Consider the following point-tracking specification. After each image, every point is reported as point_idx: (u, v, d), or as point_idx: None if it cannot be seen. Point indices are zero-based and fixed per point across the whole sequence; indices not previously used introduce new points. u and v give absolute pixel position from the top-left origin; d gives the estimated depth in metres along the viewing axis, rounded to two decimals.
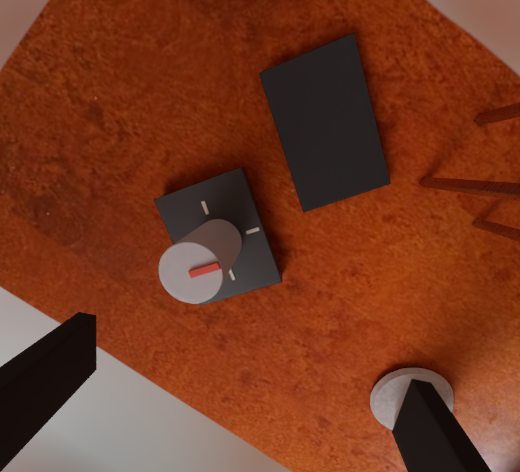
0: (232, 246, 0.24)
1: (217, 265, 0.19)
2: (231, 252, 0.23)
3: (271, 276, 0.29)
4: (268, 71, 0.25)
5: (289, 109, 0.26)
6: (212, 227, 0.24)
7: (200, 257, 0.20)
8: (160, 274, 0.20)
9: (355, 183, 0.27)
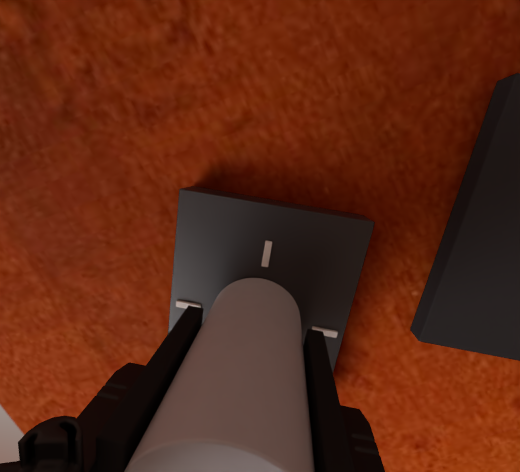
0: None
1: None
2: None
3: None
4: None
5: None
6: (283, 330, 0.11)
7: None
8: None
9: None
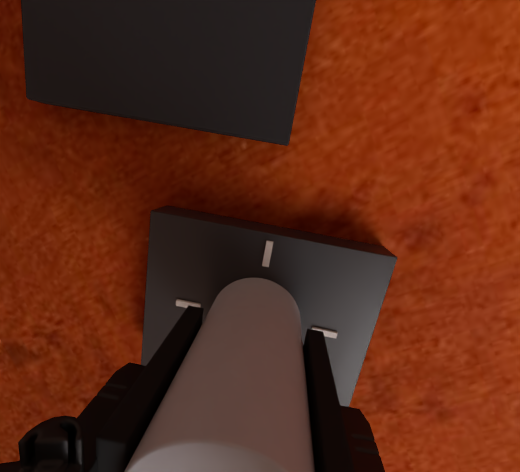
0: None
1: None
2: None
3: (372, 269, 0.14)
4: (28, 80, 0.14)
5: (99, 73, 0.13)
6: (283, 330, 0.11)
7: None
8: None
9: (288, 5, 0.12)
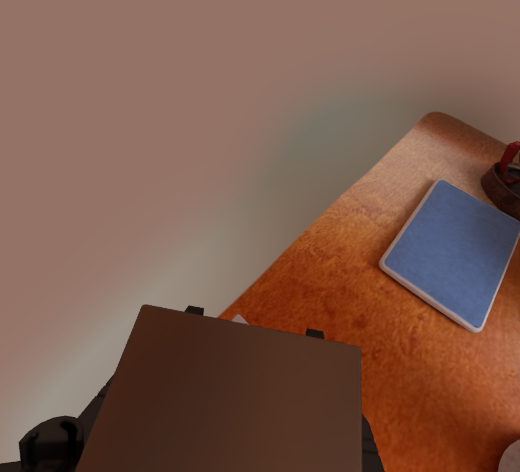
0: None
1: None
2: None
3: None
4: None
5: None
6: None
7: None
8: None
9: None
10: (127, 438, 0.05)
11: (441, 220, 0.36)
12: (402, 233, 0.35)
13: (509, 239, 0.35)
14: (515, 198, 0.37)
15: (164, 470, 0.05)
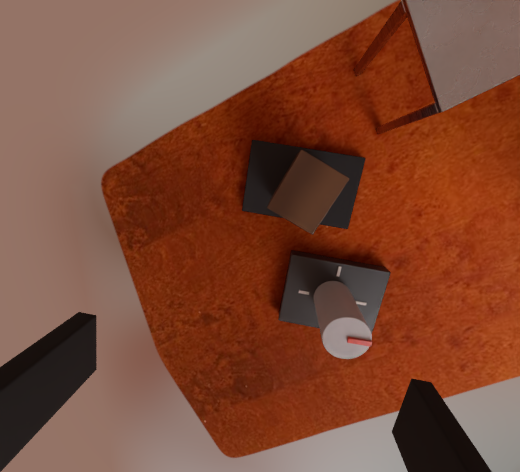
0: None
1: (370, 343, 0.27)
2: None
3: (380, 277, 0.35)
4: (244, 204, 0.35)
5: None
6: (351, 298, 0.32)
7: (361, 332, 0.27)
8: (326, 329, 0.28)
9: (349, 183, 0.33)
10: (293, 177, 0.24)
11: None
12: None
13: None
14: None
15: (299, 185, 0.24)
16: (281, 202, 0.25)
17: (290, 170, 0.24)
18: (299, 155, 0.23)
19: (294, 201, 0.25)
